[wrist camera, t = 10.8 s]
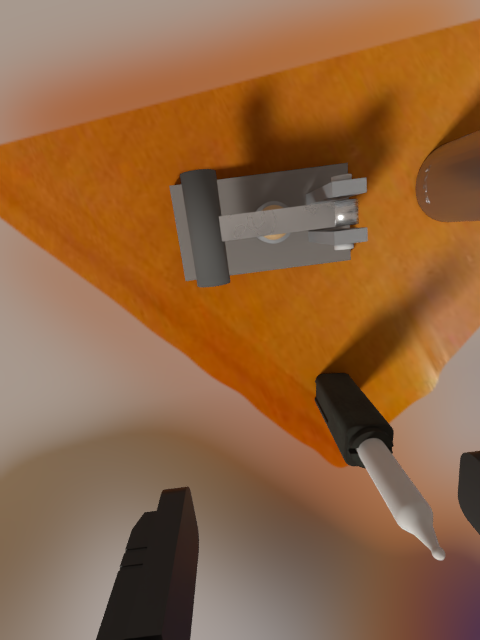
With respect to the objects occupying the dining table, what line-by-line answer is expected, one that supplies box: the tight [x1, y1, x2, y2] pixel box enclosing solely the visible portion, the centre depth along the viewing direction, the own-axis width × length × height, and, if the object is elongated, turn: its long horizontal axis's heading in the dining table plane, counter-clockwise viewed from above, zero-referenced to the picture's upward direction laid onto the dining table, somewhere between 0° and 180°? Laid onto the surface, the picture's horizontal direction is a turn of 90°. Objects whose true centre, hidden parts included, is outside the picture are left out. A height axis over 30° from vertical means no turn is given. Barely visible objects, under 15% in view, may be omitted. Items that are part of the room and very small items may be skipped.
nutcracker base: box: [170, 163, 367, 281], centre depth 34 cm, size 20×11×12 cm, turn 97°
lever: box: [180, 169, 359, 287], centre depth 31 cm, size 16×10×4 cm, turn 97°
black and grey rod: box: [315, 373, 445, 560], centre depth 35 cm, size 5×5×25 cm
